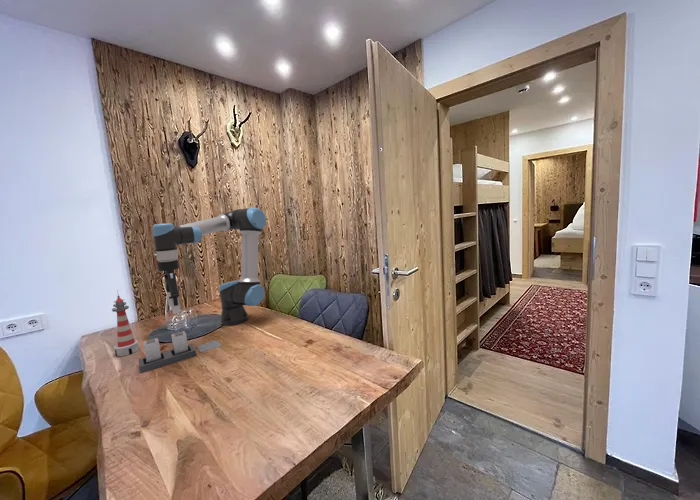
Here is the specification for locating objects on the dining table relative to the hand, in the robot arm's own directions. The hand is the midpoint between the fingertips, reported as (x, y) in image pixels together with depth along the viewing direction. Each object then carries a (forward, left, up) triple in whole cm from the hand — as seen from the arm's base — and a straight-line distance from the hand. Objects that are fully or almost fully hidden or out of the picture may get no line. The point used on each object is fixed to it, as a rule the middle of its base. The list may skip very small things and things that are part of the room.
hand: (174, 309), depth 124 cm
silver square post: (+10, 0, -21) cm, 23 cm away
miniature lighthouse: (+19, -26, -22) cm, 39 cm away
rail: (+5, 0, -22) cm, 22 cm away
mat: (-12, -2, -22) cm, 25 cm away
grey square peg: (0, 0, -21) cm, 21 cm away
